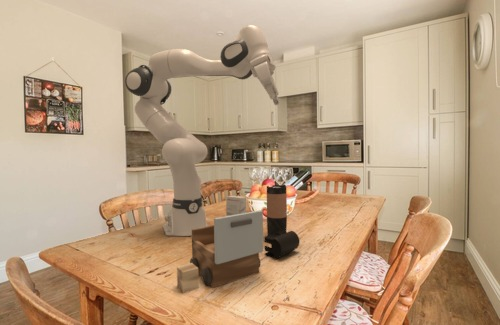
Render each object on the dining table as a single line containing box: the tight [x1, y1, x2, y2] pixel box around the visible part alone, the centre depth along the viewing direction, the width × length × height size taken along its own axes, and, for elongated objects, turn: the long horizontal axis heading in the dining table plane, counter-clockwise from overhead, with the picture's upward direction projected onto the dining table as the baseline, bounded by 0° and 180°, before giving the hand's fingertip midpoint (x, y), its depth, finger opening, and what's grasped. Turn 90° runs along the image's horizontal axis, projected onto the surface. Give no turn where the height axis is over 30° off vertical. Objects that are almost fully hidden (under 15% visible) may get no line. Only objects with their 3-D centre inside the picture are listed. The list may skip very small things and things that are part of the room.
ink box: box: [225, 195, 247, 216], centre depth 129 cm, size 9×5×12 cm, turn 58°
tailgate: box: [213, 209, 264, 264], centre depth 69 cm, size 2×14×11 cm, turn 125°
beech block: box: [176, 262, 200, 294], centre depth 67 cm, size 4×4×5 cm
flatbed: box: [189, 224, 261, 288], centre depth 76 cm, size 13×16×12 cm
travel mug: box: [266, 184, 288, 236], centre depth 103 cm, size 8×8×20 cm
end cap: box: [264, 230, 300, 259], centre depth 88 cm, size 10×7×7 cm
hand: (275, 101), depth 99 cm, fingers open, 8 cm apart
